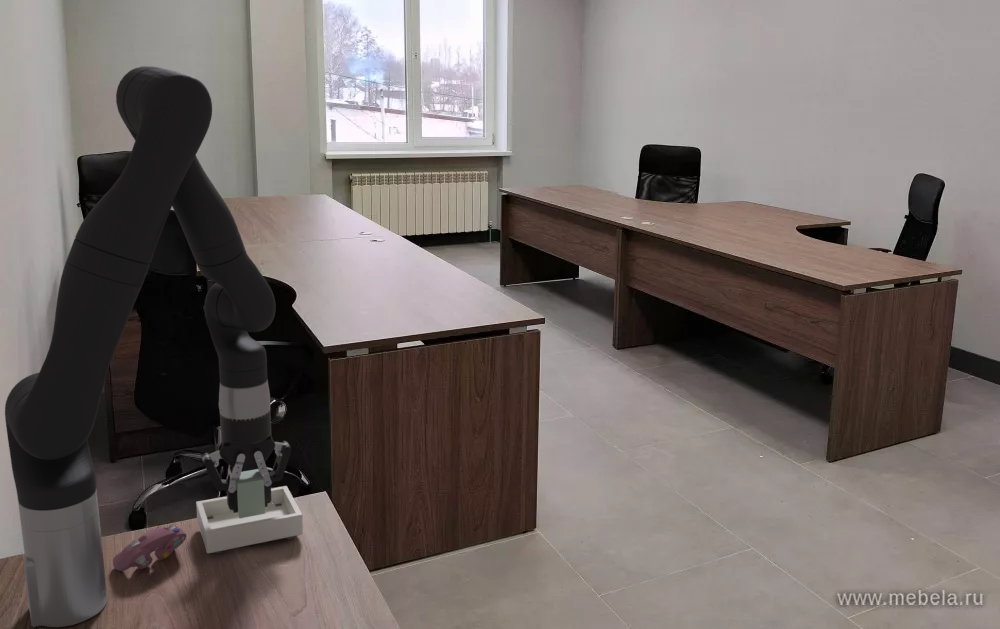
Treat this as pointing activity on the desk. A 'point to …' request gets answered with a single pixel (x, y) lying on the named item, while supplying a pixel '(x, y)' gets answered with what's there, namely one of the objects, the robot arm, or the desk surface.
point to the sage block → (250, 494)
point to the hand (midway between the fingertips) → (249, 507)
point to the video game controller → (149, 548)
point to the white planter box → (248, 522)
